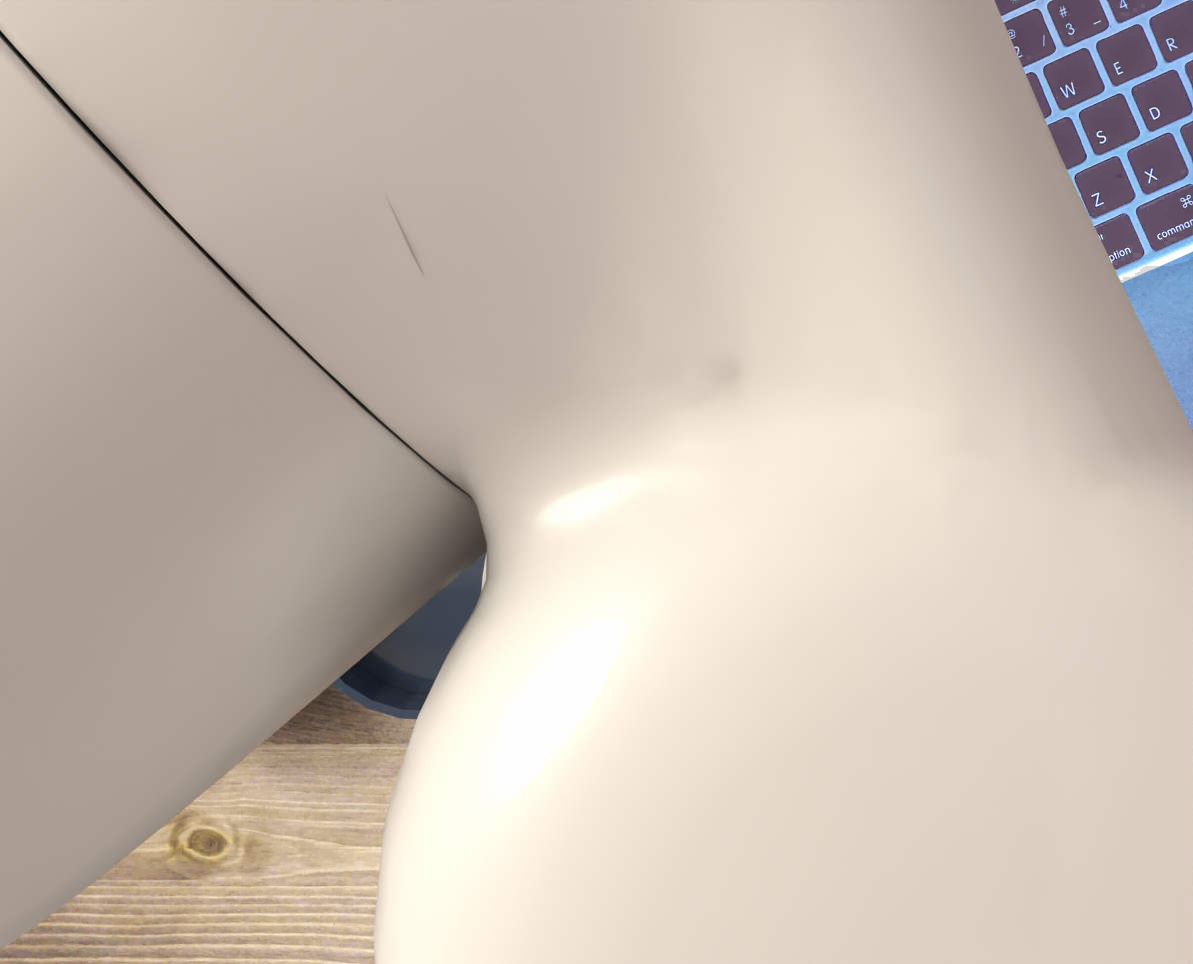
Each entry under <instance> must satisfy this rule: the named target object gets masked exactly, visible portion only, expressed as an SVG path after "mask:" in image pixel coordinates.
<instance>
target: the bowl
mask: <svg viewBox="0 0 1193 964" xmlns="http://www.w3.org/2000/svg"><path fill="white" fill-rule="evenodd" d="M486 554H487V552H485V553H484V554H483V555H482V556H481V557H480V558H478V559H477V560H476V561H475V562H474V563H473V564H471V565H470V566H469V567H468V568H467V569H466V570H464V571H463V572H462V573H461V574H460V575H458V576H457V577H456V578H455V579H454V580H453V581H451V582H450V583H449V584H448V585H447V586H446V587H444V588H443V589H442V590H441V591H440V592H439V593H437V594H436V595H435V596H434V597H433V598H432V599H430V600H429V601H428V602H427V603H426V604H425V605H423V606H422V607H421V608H420V609H419V610H418V611H416V612H415V613H414V614H413V615H412V616H410V617H409V618H408V619H407V620H406V621H405V622H403V623H402V624H401V625H400V626H399V627H398V628H396V629H395V630H394V631H393V632H392V633H391V634H389V635H388V636H387V637H386V638H385V639H384V640H382V641H381V642H380V643H379V644H378V645H377V646H375V647H374V648H373V649H372V650H371V651H370V652H368V653H367V654H366V655H365V656H364V657H363V658H361V659H360V660H359V661H358V662H357V663H356V664H354V665H353V666H352V667H351V668H350V669H348V670H347V671H346V672H345V673H344V674H343V675H341V676H340V677H339V678H338V679H337V680H336V681H334V682H333V683H332V684H331V685H333V686H334V687H335V688H336V690H338V691H339V692H340V693H342V694H343V695H345V696H346V697H348V698H350V699H351V700H353V701H355V702H356V703H358V704H359V705H360V706H363V707H364V708H366V709H368V710H370V711H374V712H377V713H381V714H384V715H387V716H390V717H394V718H397V719H402V720H417V717H418V715H419V713H420V711H421V709H422V707H423V705H424V703H425V701H426V699H427V697H428V694H429V692H430V690H431V688H432V686H433V684H434V682H435V680H436V678H437V676H438V674H439V672H440V670H441V668H442V666H443V663H444V661H445V659H446V657H447V655H448V653H449V651H450V649H451V647H452V645H453V643H454V642H455V640H456V638H457V637H458V635H459V633H460V632H461V630H462V628H463V627H464V625H465V623H466V622H467V620H468V619H469V617H470V615H471V614H472V612H473V610H474V609H475V607H476V605H477V602H478V600H479V597H480V594H481V591H482V577H483V570H484V564H485V558H486Z"/></svg>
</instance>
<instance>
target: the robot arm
mask: <svg viewBox="0 0 1193 964" xmlns="http://www.w3.org/2000/svg"><path fill="white" fill-rule="evenodd" d="M1086 208H1087V207H1086V206H1085V204H1084V202H1083V200H1082V198H1081V196H1080V194H1079V191H1078V190H1077V187H1076V185H1075V184H1074V181H1073V180H1072V177H1071V175H1070V173H1069V171H1068V169H1067V167H1066V165H1065V162H1064V160H1063V158H1062V156H1061V153H1060V152H1059V149H1058V146H1057V144H1056V142H1055V139H1054V137H1053V135H1052V132H1051V130H1050V128H1049V125H1048V123H1047V121H1046V118H1045V116H1044V114H1043V111H1042V109H1041V107H1040V104H1039V102H1038V100H1037V97H1036V95H1035V93H1034V90H1033V88H1032V86H1031V83H1030V80H1029V78H1028V76H1027V73H1026V71H1025V68H1024V67H1023V64H1022V61H1021V60H1020V57H1019V55H1018V53H1017V50H1016V48H1015V46H1014V43H1013V41H1012V39H1011V36H1010V33H1009V31H1008V29H1007V27H1006V24H1005V22H1004V19H1003V17H1002V15H1001V13H1000V10H999V8H998V6H997V3H996V1H995V0H0V950H2V949H3V948H5V947H7V946H8V945H10V944H12V943H14V942H15V941H17V940H19V939H20V938H21V937H23V936H24V935H26V934H27V933H28V932H30V931H31V930H32V929H34V928H36V927H37V926H38V925H39V924H41V923H42V922H43V921H45V920H47V919H48V918H49V917H50V916H52V915H53V914H54V913H56V912H57V911H59V910H60V909H61V908H62V907H63V906H65V905H67V904H68V903H69V902H71V901H72V900H73V899H74V898H76V897H77V896H78V895H80V894H81V893H83V891H85V890H86V889H88V888H89V887H90V886H91V885H92V884H94V883H95V882H96V881H98V880H99V879H101V878H102V877H103V876H104V875H105V874H107V873H108V872H109V871H111V869H113V868H114V867H115V866H116V865H118V864H119V863H120V862H121V861H122V860H124V859H125V858H126V857H128V856H129V855H130V854H131V853H133V852H134V851H135V850H136V849H138V848H139V847H140V846H141V845H143V844H144V843H145V842H146V841H147V840H148V839H150V838H151V837H153V835H155V834H156V833H157V832H158V831H159V830H161V829H162V828H163V827H164V826H165V825H167V824H168V823H169V822H170V821H171V820H172V819H174V818H175V817H176V816H178V815H179V814H180V813H181V812H182V811H184V810H185V809H186V808H187V807H188V806H190V805H191V804H192V803H193V802H194V801H195V800H197V799H198V798H199V797H200V796H202V795H203V794H204V793H205V792H206V791H207V790H209V789H210V788H211V787H212V786H214V784H216V783H217V782H218V781H219V780H220V779H222V778H223V777H225V776H226V775H227V774H228V773H229V772H230V771H231V770H232V769H234V768H235V767H236V766H237V765H239V764H240V763H241V762H242V761H243V760H244V759H246V758H247V757H248V756H249V755H250V754H251V753H253V752H254V751H255V750H256V749H258V748H259V746H261V745H262V744H263V743H264V742H266V741H267V740H268V739H270V737H272V736H273V735H274V734H275V733H276V732H277V731H278V730H280V729H281V728H282V727H283V726H284V725H285V724H287V723H288V722H289V721H290V720H291V719H292V718H294V717H296V715H297V714H299V713H300V712H301V711H302V710H303V709H304V708H305V707H307V706H308V705H309V704H310V703H311V702H312V701H314V700H315V699H316V698H317V697H318V696H320V695H321V694H322V693H323V692H324V691H326V690H327V689H328V688H329V687H330V686H331V685H333V684H332V683H333V682H334V681H336V680H337V679H338V678H339V677H340V676H341V675H343V674H344V673H345V672H346V671H347V670H348V669H350V668H351V667H352V666H353V665H354V664H356V663H357V662H358V661H359V660H360V659H361V658H363V657H364V656H365V655H366V654H367V653H368V652H370V651H371V650H372V649H373V648H374V647H375V646H377V645H378V644H379V643H380V642H381V641H382V640H384V639H385V638H386V637H387V636H388V635H389V634H391V633H392V632H393V631H394V630H395V629H396V628H398V627H399V626H400V625H401V624H402V623H403V622H405V621H406V620H407V619H408V618H409V617H410V616H412V615H413V614H414V613H415V612H416V611H418V610H419V609H420V608H421V607H422V606H423V605H425V604H426V603H427V602H428V601H429V600H430V599H432V598H433V597H434V596H435V595H436V594H437V593H439V592H440V591H441V590H442V589H443V588H444V587H446V586H447V585H448V584H449V583H450V582H451V581H453V580H454V579H455V578H456V577H457V576H458V575H460V574H461V573H462V572H463V571H464V570H466V569H467V568H468V567H469V566H470V565H471V564H473V563H474V562H475V561H476V560H477V559H478V558H480V557H481V556H482V555H483V554H484V553H485V552H487V554H486V558H485V564H484V570H483V577H482V591H481V594H480V597H479V600H478V602H477V605H476V607H475V609H474V610H473V612H472V614H471V615H470V617H469V619H468V620H467V622H466V623H465V625H464V627H463V628H462V630H461V632H460V633H459V635H458V637H457V638H456V640H455V642H454V643H453V645H452V647H451V649H450V651H449V653H448V655H447V657H446V659H445V661H444V663H443V666H442V668H441V670H440V672H439V674H438V676H437V678H436V680H435V682H434V684H433V686H432V688H431V690H430V692H429V694H428V697H427V699H426V701H425V703H424V705H423V707H422V709H421V711H420V713H419V715H418V717H417V719H415V720H416V721H415V724H414V727H413V729H412V733H411V735H410V738H409V740H408V741H409V742H408V745H407V747H406V751H405V754H404V756H403V760H402V763H401V766H400V769H399V771H398V774H397V777H396V781H395V783H394V786H393V789H392V793H391V795H390V798H389V802H388V806H387V811H386V815H385V821H384V825H383V831H382V841H381V851H380V862H379V871H378V879H377V890H376V899H375V900H376V901H375V909H374V919H373V920H374V922H373V956H374V957H373V958H374V964H1193V428H1192V427H1191V424H1190V423H1189V420H1188V419H1187V416H1186V414H1185V412H1184V410H1183V408H1182V406H1181V404H1180V402H1179V400H1178V398H1177V394H1176V393H1175V392H1174V389H1173V387H1172V386H1171V383H1170V381H1169V379H1168V376H1167V375H1166V373H1165V371H1164V368H1163V366H1162V364H1161V362H1160V361H1159V358H1158V356H1157V354H1156V352H1155V349H1154V348H1153V346H1152V344H1151V342H1150V341H1151V340H1150V339H1149V337H1148V335H1147V333H1146V331H1145V329H1144V327H1143V325H1142V323H1141V321H1140V318H1139V317H1138V314H1137V313H1136V310H1135V308H1134V306H1133V304H1132V302H1131V299H1130V298H1129V296H1128V294H1127V291H1126V289H1125V288H1124V285H1123V284H1122V281H1121V279H1120V277H1119V275H1118V272H1117V271H1116V268H1115V267H1114V264H1113V262H1112V260H1111V258H1110V256H1109V254H1108V252H1107V250H1106V248H1105V246H1104V243H1103V242H1102V240H1101V238H1100V236H1099V233H1098V231H1097V228H1096V227H1095V225H1094V223H1093V221H1092V218H1091V216H1090V215H1089V213H1088V210H1087V209H1086Z"/></svg>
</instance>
